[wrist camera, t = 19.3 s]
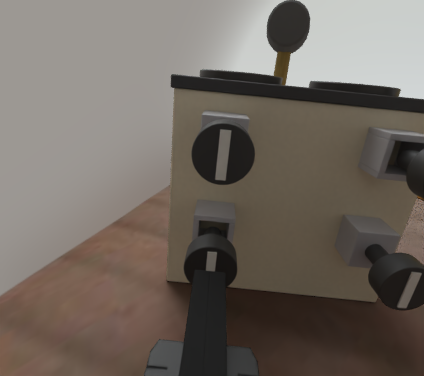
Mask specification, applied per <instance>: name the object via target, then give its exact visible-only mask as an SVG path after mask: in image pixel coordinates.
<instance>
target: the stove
mask: <svg viewBox="0 0 424 376" xmlns="http://www.w3.org/2000/svg"><path fill="white" fill-rule="evenodd" d="M282 80H283V78H281V77H277V76H270V75H262V74H254V73H245V72H234V71H222V70H200V77H196V76H186V75H176V74H172V75H171V87H172V88H175V89H174V108H173V134H172V157H171V180H170V204H169V228H168V252H167V276H166V280H167V281H175V282H184V283H190V282H189V281H188V280H187V278H186V276H185V274H184V261H185V257H186V252H187V248H188V246H189V245H190V243H191V242H192V241H193V240H194V239H196V238H197V237H199V236H202V235H204V232H205V230H206V229H207V228H209V227H217V228H218V229H220V231H221V233H222V237H224V238H226V239H228V240H229V241H230V242H231V243H232V244H233V246H234V248H235V250H236V256H237V275H236V278H235V279H234V281H233V282H232V283H231V284H230V285H229V286H228V287H233V288H242V289H252V290H261V291H271V292H281V293H290V294H300V295H310V296H319V297H329V298H339V299H348V300H358V301H367V302H376V300H377V298H378V297H379V298H380V299H381V301H382V302H383V303H384V304H385V305H386V306H388V307H390V308H392V309H395V310H410V309H414V308H417V307H419V306H421V305H423V304H424V265H422V264H421V263H420V262H419V261H418V260H417V259H416V258H415V257H413V256H411V255H409V254H406V253H395V252H396V249H397V247H398V244H399V242H400V239H401V237H402V234H403V232H404V229H405V227H406V224H407V221H408V219H409V216H410V214H411V211H412V209H413V206H414V204H415V201H416V199H417V195H415V194H414V193H413V192H412V191H411V190H410V189H409V187H408V185H407V181H406V173H407V171H406V170H404V169H402V168H400V167H399V166H398V165H397V163H396V159H397V156H398V154H399V153H400V152H402V151H403V150H406V149H413V150H416V151H418V152H420V151H422V150H423V149H424V99H414V98H404V97H399V94H400V89H398V88H391V87H384V86H373V85H363V84H351V83H340V82H322V81H311V82H310V84H309V88H305V87H295V86H285V85H282Z"/></svg>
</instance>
